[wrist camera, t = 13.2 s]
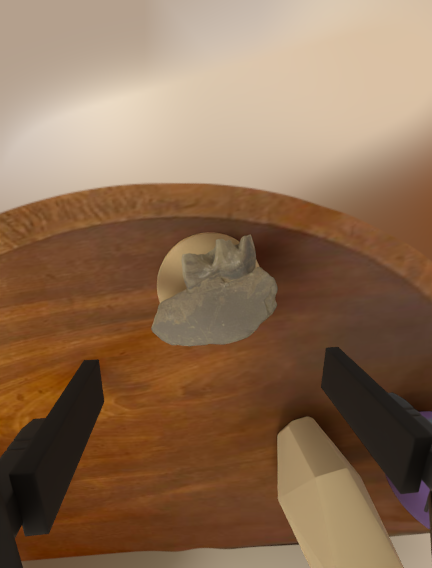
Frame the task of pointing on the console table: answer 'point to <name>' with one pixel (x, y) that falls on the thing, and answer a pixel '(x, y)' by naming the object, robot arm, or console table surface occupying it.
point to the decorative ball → (416, 494)
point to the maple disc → (171, 266)
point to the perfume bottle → (328, 502)
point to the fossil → (217, 297)
